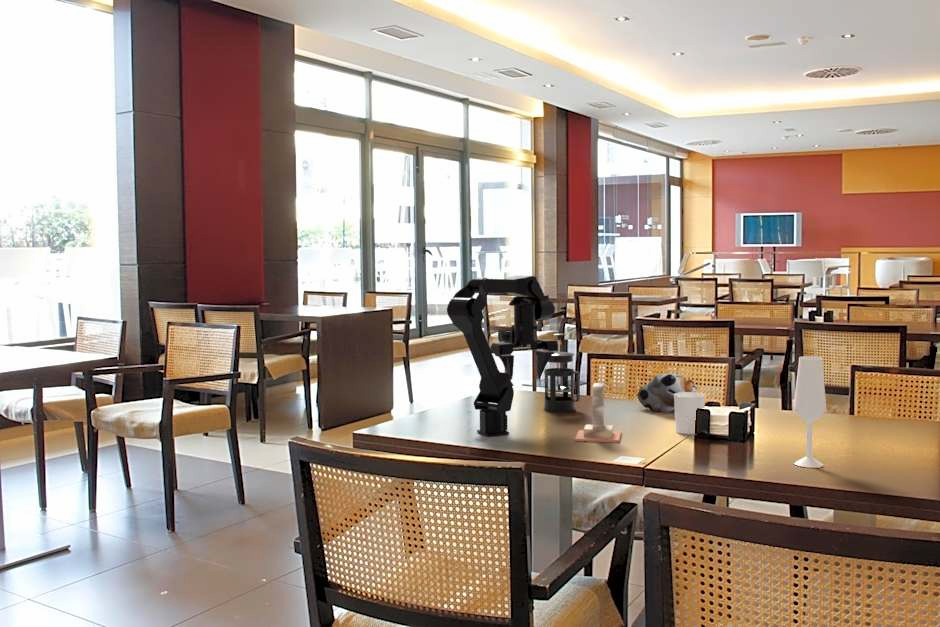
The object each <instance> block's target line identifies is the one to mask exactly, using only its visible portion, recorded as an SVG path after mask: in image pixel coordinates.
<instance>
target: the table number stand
mask: <svg viewBox="0 0 940 627" xmlns="http://www.w3.org/2000/svg"><path fill="white" fill-rule="evenodd" d="M583 430H584V437H599V438H612V434H613V431H614V425H613V424H611V425H610V424H609V425H608V424H605V383H604V382H594V383H593V385H592V424H585V425H584V428H583Z"/></svg>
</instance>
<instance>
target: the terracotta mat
mask: <svg viewBox="0 0 940 627" xmlns="http://www.w3.org/2000/svg"><path fill="white" fill-rule="evenodd" d="M621 436H622V430H613V434H612V438H599V437H584V429H579V430H578V432H577V433H576V436H575V438H574V441H575V442H584V441H586V443H587V442H589V443H590V442H591V443H614V444H615V443H616V444H617V443H618V444H619V443H620V440H621Z"/></svg>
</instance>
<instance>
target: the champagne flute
mask: <svg viewBox="0 0 940 627" xmlns="http://www.w3.org/2000/svg"><path fill="white" fill-rule="evenodd" d="M823 365H824V364H823V357H820V356H805V355H804V356H799V358H798V366H797V372H796V374H797V375H796V382H795V383H796V384H795V390H794V391H795V392H794V400H793V409H794V411H795V412H796V414H797V415H798V416H799V417H800V418H801V419H802V420H804V422H806V436H805V437H806V439H805V440H806V441H805V445H806V446H805V447H806V448H805V456H804V457H802V458H800V459H798V460H797V461H795V463H794V462H793V463H794V464H795V465H798V466H802V467H803V466H804V467H820V466H822V465H824V464H823V463H822V462H820V461H818V460H817V459H816V458H814V456H813V422H815V421H817V420H818V419H819V418H821V417H822V416H823V415H824V413H825V412H826V410H827V400H826V390H825V375H824V366H823Z"/></svg>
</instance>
